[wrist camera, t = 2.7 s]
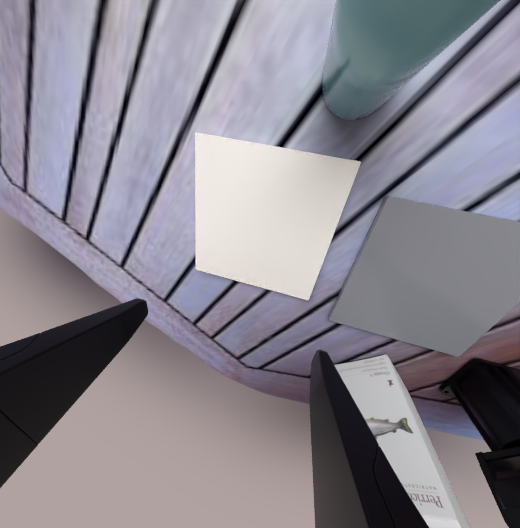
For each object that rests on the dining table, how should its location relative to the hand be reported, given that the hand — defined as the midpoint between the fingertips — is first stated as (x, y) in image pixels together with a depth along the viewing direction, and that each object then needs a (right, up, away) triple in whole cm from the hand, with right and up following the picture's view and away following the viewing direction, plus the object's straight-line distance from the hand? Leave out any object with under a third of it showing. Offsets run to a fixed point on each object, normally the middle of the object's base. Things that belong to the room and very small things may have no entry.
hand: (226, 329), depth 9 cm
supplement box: (+16, -12, +16) cm, 26 cm away
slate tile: (+18, +1, +9) cm, 20 cm away
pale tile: (+2, +7, +10) cm, 12 cm away
